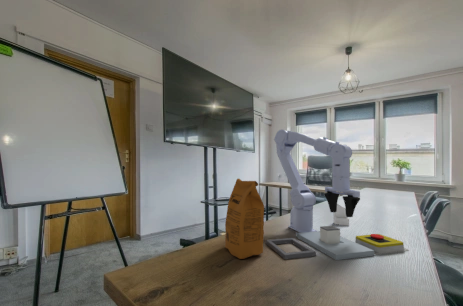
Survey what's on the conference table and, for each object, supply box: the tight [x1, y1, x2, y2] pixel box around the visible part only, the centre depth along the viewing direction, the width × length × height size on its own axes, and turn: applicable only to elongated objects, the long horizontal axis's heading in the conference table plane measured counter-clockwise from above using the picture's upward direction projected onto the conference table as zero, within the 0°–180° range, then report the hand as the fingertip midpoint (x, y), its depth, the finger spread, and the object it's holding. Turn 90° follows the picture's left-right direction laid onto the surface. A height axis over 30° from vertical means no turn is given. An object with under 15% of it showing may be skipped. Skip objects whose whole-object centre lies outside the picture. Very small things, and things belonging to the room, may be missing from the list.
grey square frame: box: [265, 237, 317, 260], centre depth 68 cm, size 12×10×1 cm
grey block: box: [319, 225, 341, 244], centre depth 73 cm, size 4×5×6 cm
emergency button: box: [354, 233, 410, 256], centre depth 72 cm, size 9×4×15 cm
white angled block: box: [332, 203, 350, 226], centre depth 101 cm, size 4×10×9 cm
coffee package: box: [224, 178, 265, 260], centre depth 67 cm, size 10×12×22 cm
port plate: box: [295, 230, 375, 261], centre depth 73 cm, size 20×14×2 cm
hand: (341, 214), depth 78 cm, fingers open, 7 cm apart
